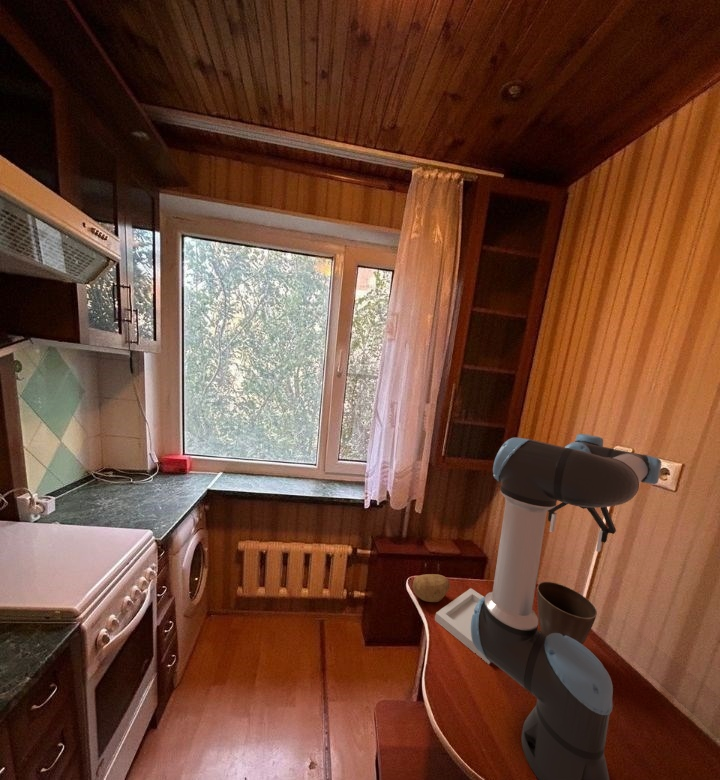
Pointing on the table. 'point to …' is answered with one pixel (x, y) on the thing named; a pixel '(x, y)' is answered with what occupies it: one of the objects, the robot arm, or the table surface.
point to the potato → (431, 587)
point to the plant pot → (564, 611)
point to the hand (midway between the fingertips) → (574, 540)
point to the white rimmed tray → (461, 619)
